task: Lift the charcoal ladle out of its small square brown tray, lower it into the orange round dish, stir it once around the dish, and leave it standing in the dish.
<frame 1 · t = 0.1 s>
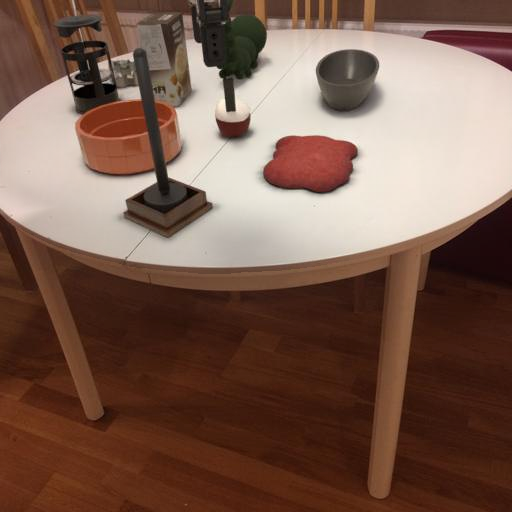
hand: (209, 53, 55), 24 cm above the table, tool pointing down, fingers open, 8 cm apart
coffee box: (172, 99, 111), on the table
small square brown tray: (168, 212, 75), on the table
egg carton: (127, 80, 122), on the table
cocoa: (233, 136, 95), on the table
bowl: (345, 98, 106), on the table
orange round dish: (133, 153, 91), on the table
patty: (310, 165, 84), on the table
french press: (98, 106, 110), on the table
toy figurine: (242, 72, 123), on the table
ladle: (167, 207, 75), point 1 cm above the table, touching small square brown tray
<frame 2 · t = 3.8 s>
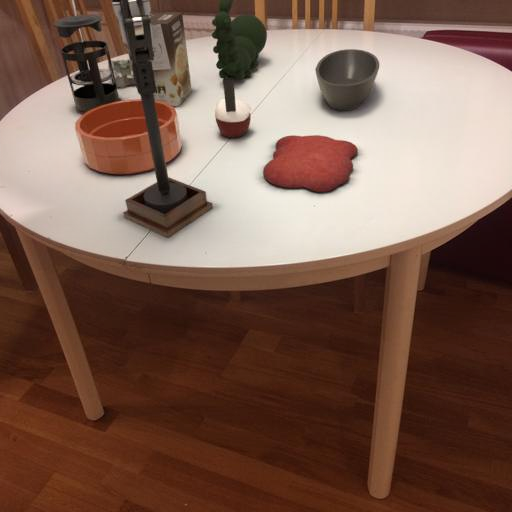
hand: (146, 90, 64), 18 cm above the table, tool pointing down, fingers closed on ladle
ladle: (167, 207, 75), point 1 cm above the table, touching gripper, small square brown tray
everything else where it was.
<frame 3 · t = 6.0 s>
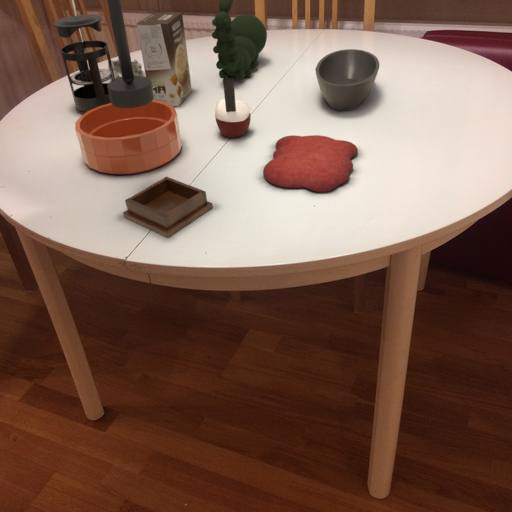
ladle: (132, 100, 74), point 14 cm above the table, touching gripper
everything else where it was.
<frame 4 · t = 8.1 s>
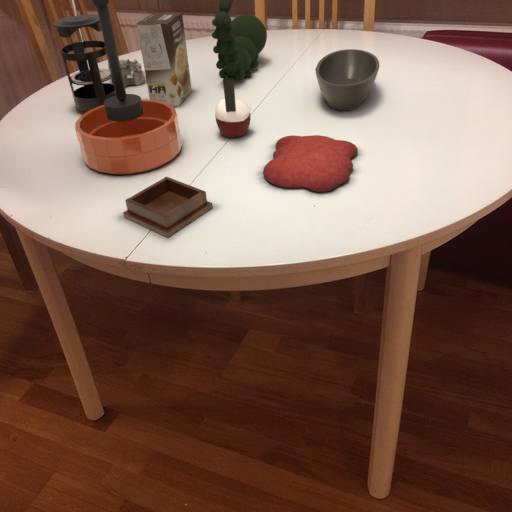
hand: (101, 2, 76), 24 cm above the table, tool pointing down, fingers closed on ladle
ladle: (125, 114, 87), point 7 cm above the table, touching gripper
everything else where it was.
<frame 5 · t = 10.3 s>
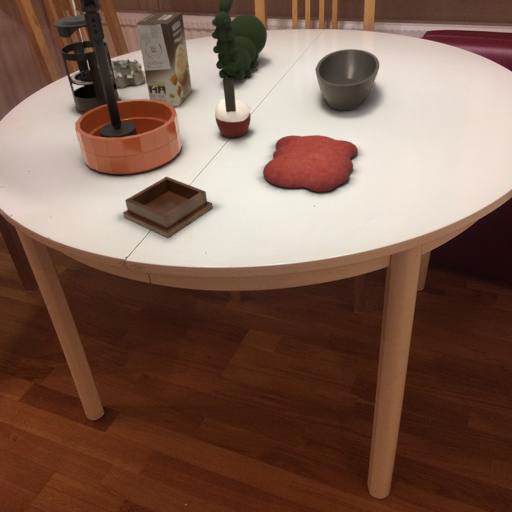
hand: (97, 37, 79), 19 cm above the table, tool pointing down, fingers closed on ladle
ladle: (120, 141, 90), point 2 cm above the table, touching gripper
everything else where it was.
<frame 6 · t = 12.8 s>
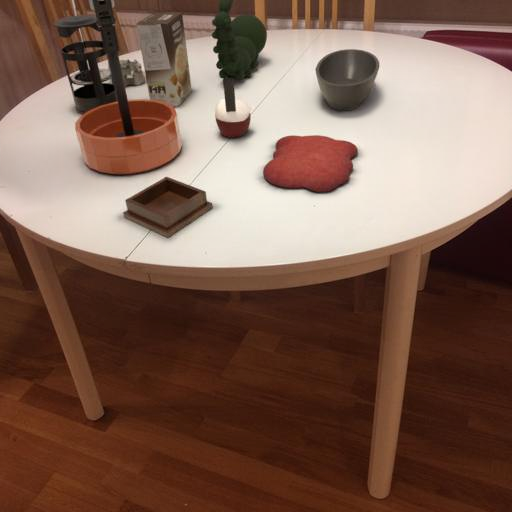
hand: (111, 49, 80), 18 cm above the table, tool pointing down, fingers closed
ladle: (133, 150, 91), point 1 cm above the table, touching orange round dish
everything else where it was.
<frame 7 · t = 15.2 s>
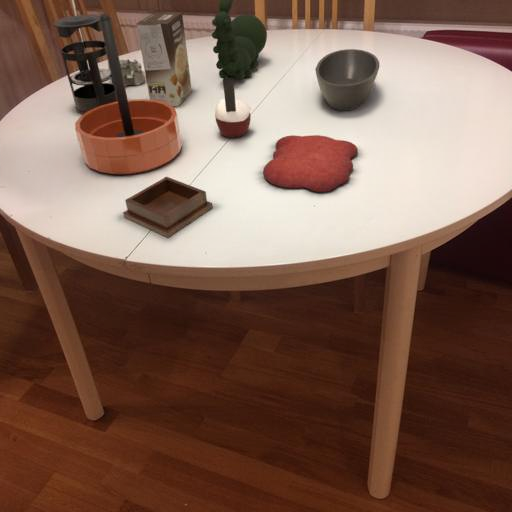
nothing on the table moved.
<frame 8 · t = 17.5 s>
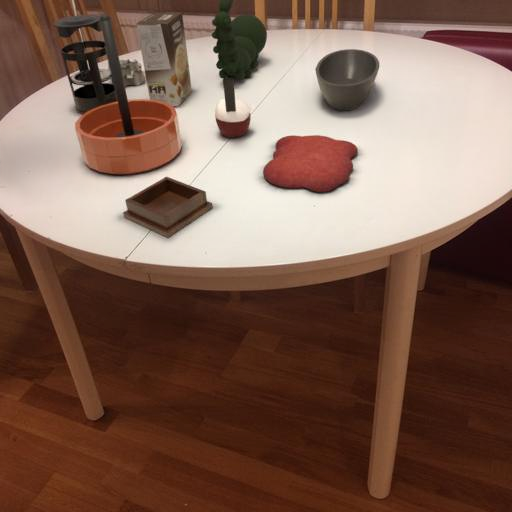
nothing on the table moved.
at the end: ladle inside the target area in the orange round dish (0.0 cm from its centre), point 0.6 cm above the orange round dish's base; ladle tilted 0°; the gripper is holding nothing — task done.
